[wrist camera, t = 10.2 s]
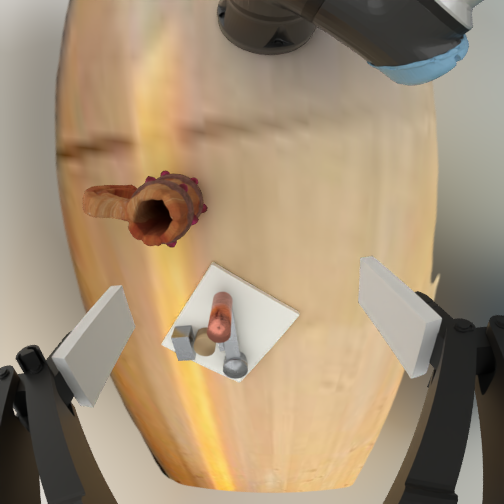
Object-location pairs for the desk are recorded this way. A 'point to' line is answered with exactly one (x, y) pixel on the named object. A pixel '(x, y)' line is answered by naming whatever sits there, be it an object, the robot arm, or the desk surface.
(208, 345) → the tan short cylinder
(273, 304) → the bench board
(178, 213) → the mug
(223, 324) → the lever
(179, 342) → the grey rectangular block
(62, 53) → the desk surface
